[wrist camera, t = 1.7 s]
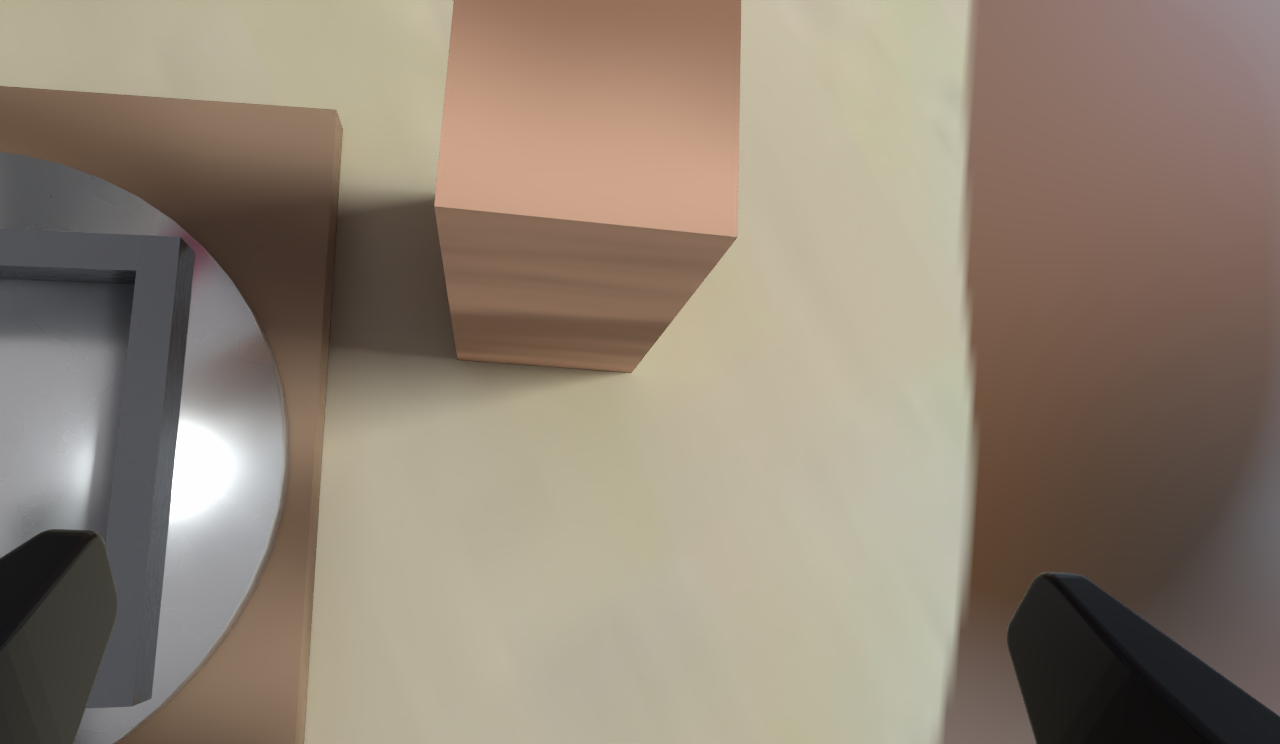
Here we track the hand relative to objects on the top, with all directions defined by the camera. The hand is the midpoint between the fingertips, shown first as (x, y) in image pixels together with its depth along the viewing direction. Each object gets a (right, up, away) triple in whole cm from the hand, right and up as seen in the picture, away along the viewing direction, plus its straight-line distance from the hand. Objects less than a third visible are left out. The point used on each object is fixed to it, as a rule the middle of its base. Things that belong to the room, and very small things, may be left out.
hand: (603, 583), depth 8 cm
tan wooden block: (-2, +4, +15) cm, 15 cm away
